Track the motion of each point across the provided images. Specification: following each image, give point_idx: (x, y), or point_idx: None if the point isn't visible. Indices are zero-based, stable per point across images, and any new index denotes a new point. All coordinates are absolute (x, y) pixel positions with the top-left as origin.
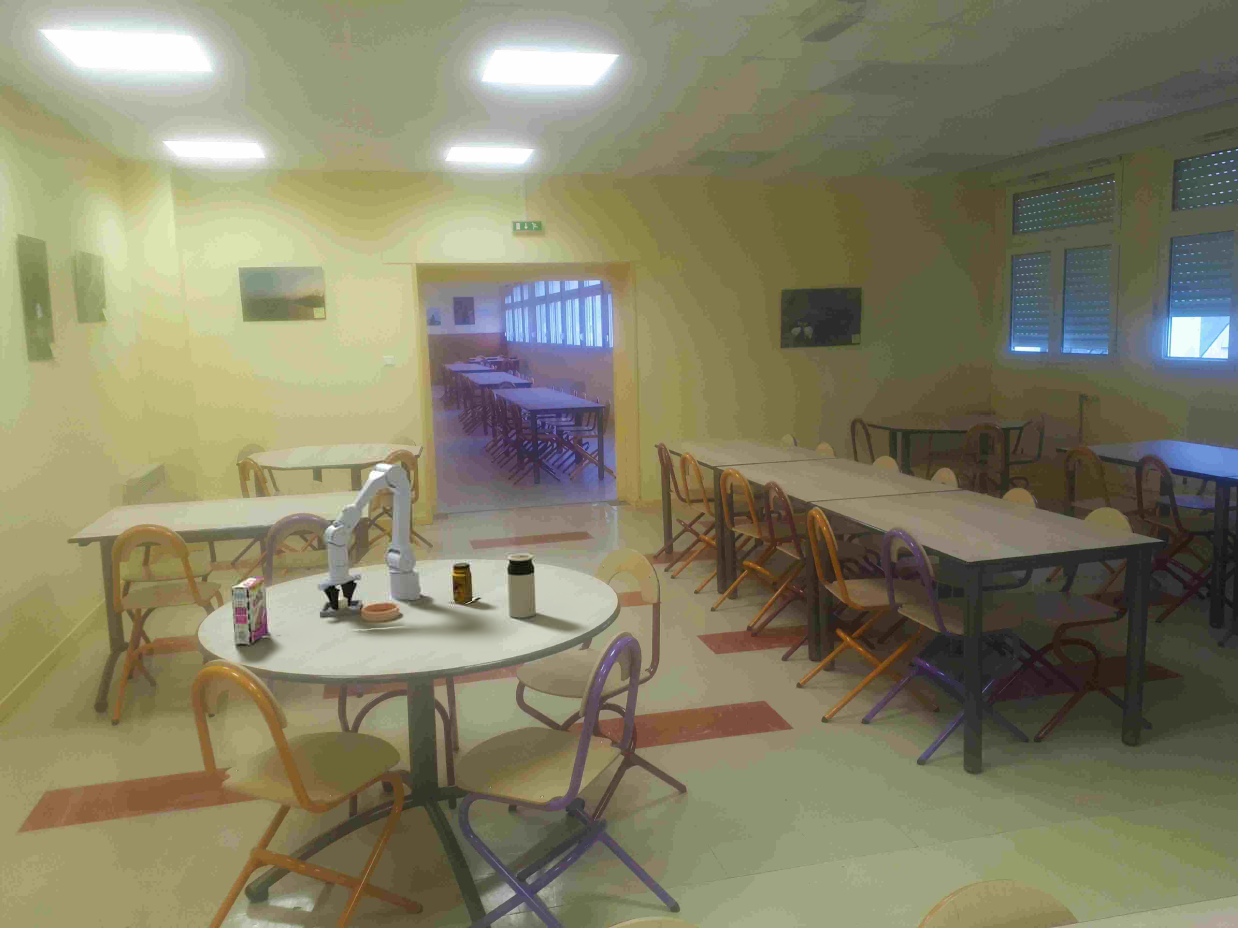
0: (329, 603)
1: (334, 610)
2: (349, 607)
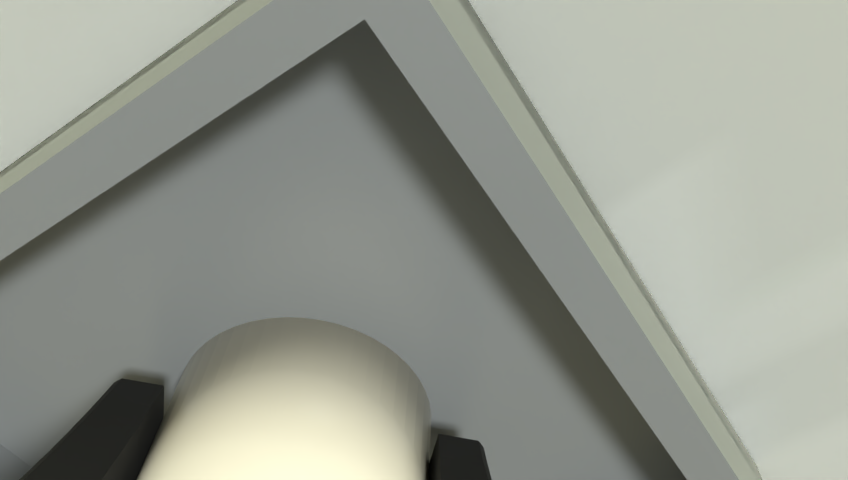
0: (411, 64)
1: (228, 320)
2: (506, 436)
